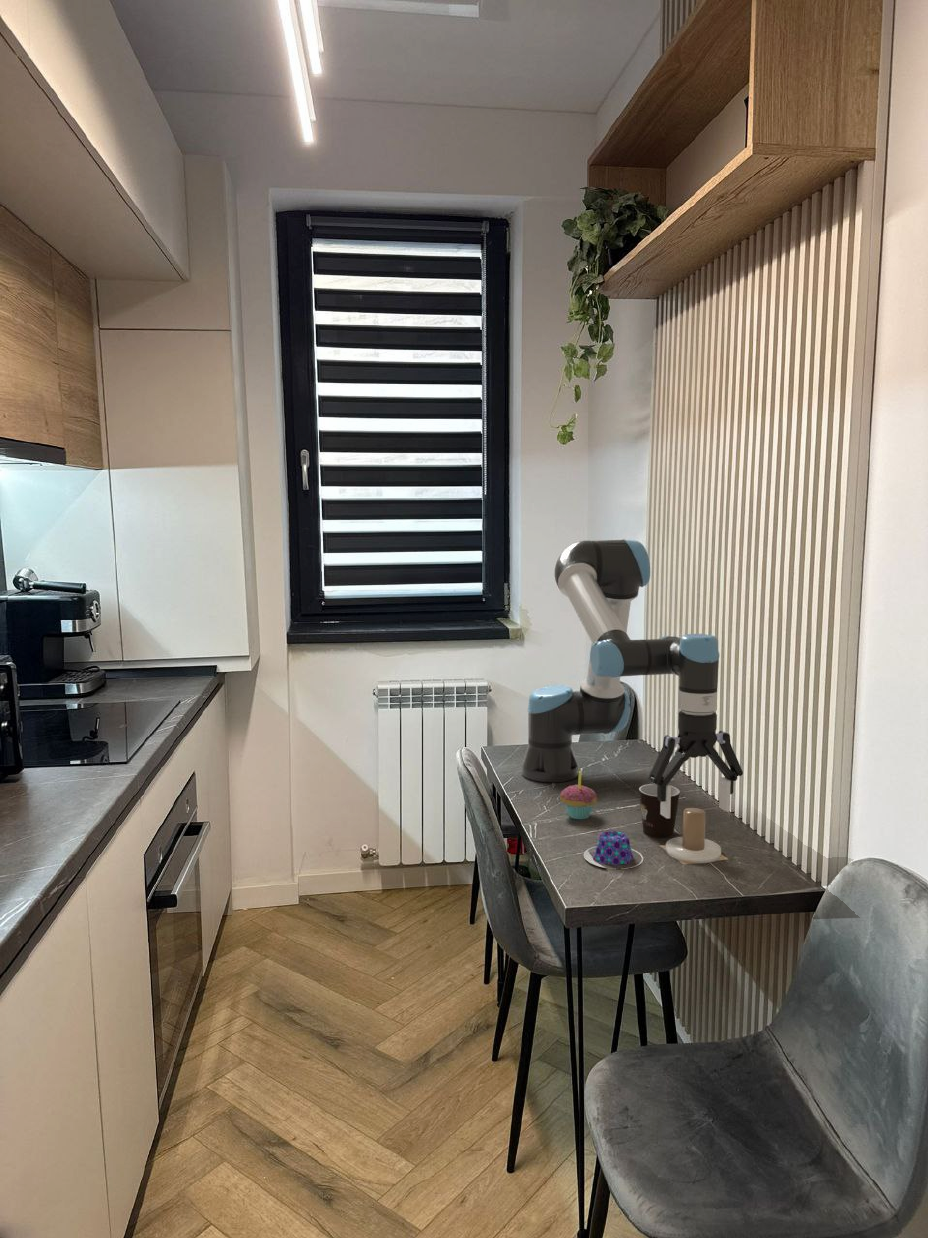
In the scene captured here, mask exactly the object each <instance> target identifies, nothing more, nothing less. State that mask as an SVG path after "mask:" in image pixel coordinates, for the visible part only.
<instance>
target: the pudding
mask: <svg viewBox="0 0 928 1238" xmlns="http://www.w3.org/2000/svg"><path fill="white" fill-rule="evenodd" d="M594 848H595V850H594V854H592V853H591V852H590V850H591V849H594ZM633 852H636V853H637V854H638V855H640V857H641V861H640V862H639V864H636V865H634V866H631V867H629V869H630V868H635V867H637V866H640V864H642V863H643V861H644V856H643V855H642V853H641V852H639V851H637V850H635V849H633V848H632V847H631V842H630V839H629V836H627V835H626V833H624V832H619V831H618V830H617V831H616V830H613V831H612V830H607V831H605V832H601V833H600V834H599V835H598V840H597V843H596V846H592V847H590V848H588V849H586V850H585V851H584V852H583V858H584V859H585V861H587V862H588V863H589V864H591V865H594V866H596V867H600V868H605V869H607V867H606V866H605V865H606V864H608V865H611V866H620V865H627V864H630V862H631V861H633V860H634V856H633V855H634V854H633ZM603 864H605V865H603ZM609 869H611V870H612V869H614V870H615V868H610V867H609ZM624 869H628V867H627V868H625V867H623V868H622V870H624Z"/></svg>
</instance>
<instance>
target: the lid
mask: <svg viewBox="0 0 928 1238" xmlns="http://www.w3.org/2000/svg"><path fill="white" fill-rule="evenodd" d="M682 813H683V815H682V817H683V818H682V836H675V837H673V838H670V839H668V840H667V841H666V843H665V845H666V851H665V852H666V854H668V856H670V857H672V858H673V859H676V860H677V859H678V860H681V861H685V862H690V863H695V864H707V863H708V864H709V863H713V862H717V861H716V860H718V859H719V858H720V857H721V854H722V848H721V846H720V845H719V844H718V843H716V842H715V841H712V840H710V839H707V838H705V837H706V816H707V815H706V814H707V813H706V810H705V809H704V810H703V809H701V808H698V807H687V808H684V809H683V812H682ZM678 860H677V861H678ZM718 861H719V860H718Z"/></svg>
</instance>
